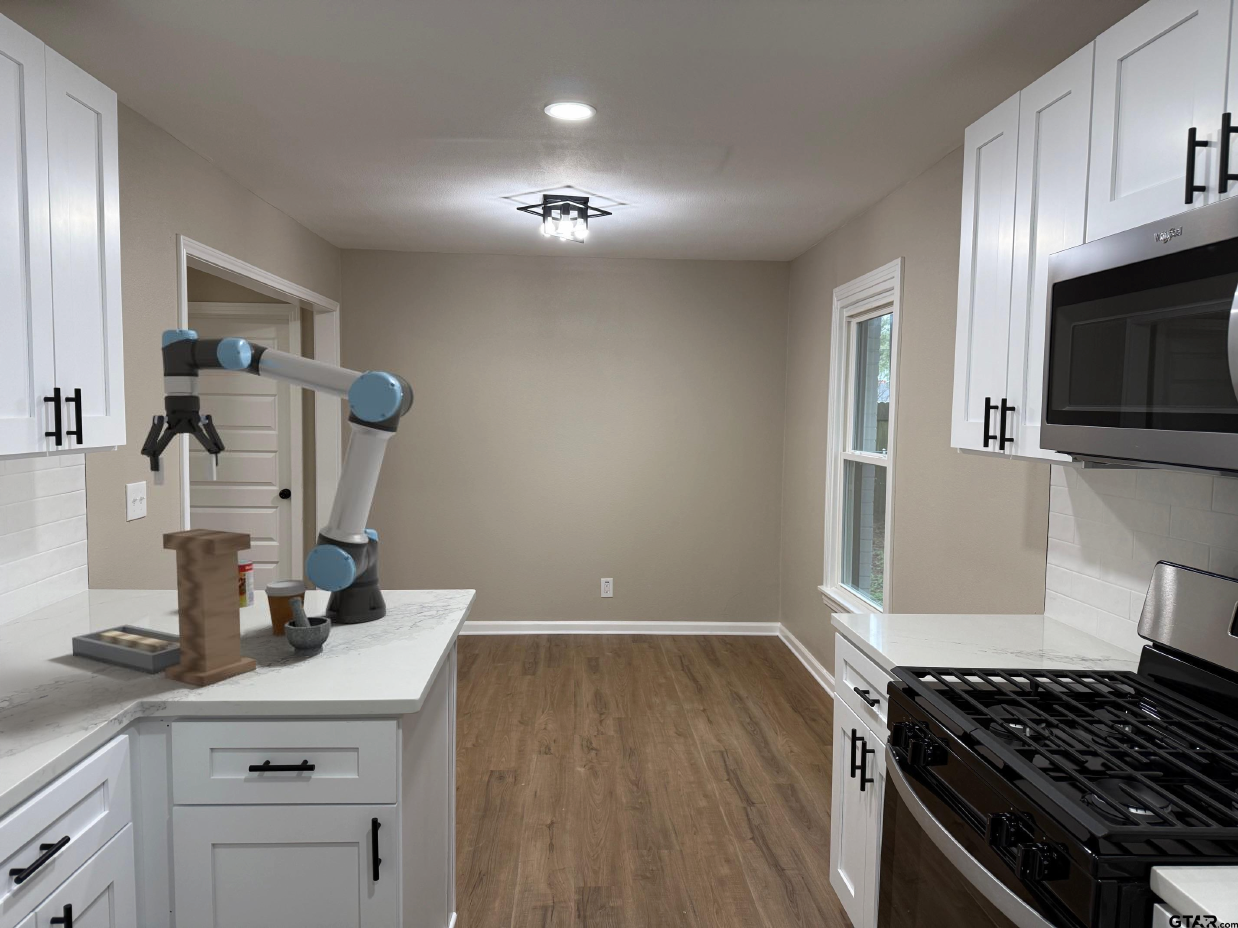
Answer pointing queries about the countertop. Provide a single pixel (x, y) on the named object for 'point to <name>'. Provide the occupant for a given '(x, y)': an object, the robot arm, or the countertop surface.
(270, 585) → the disposable coffee cup
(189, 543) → the post stand
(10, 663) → the countertop surface
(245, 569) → the canned food
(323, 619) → the mortar and pestle
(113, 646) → the tray
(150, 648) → the bar
